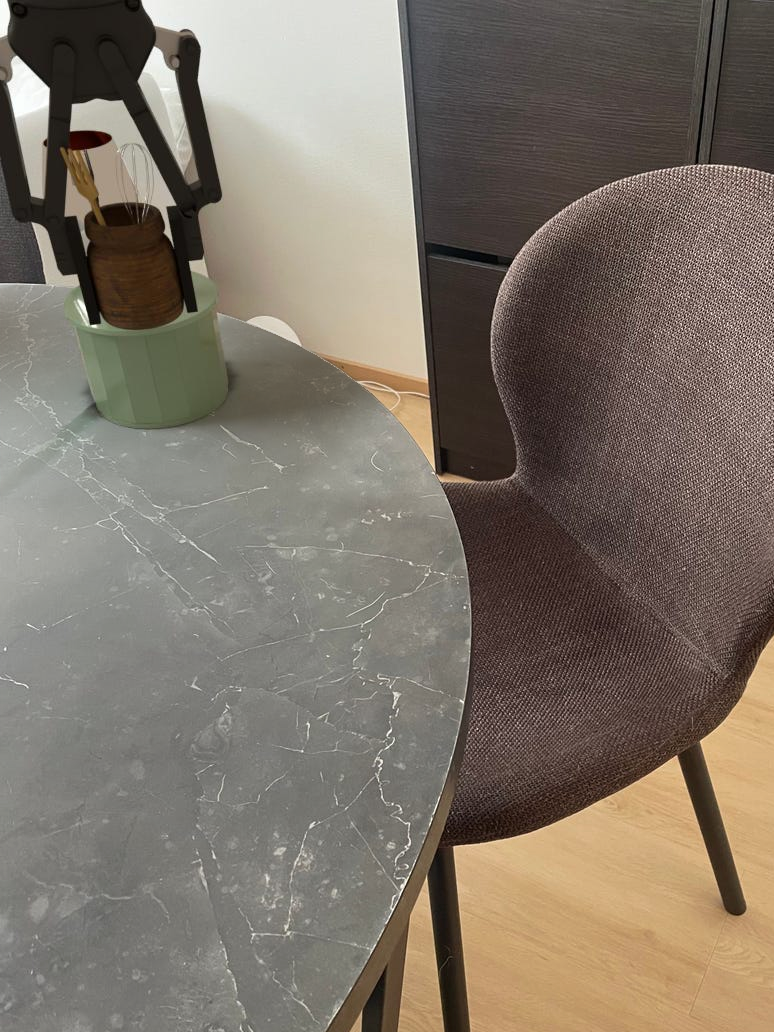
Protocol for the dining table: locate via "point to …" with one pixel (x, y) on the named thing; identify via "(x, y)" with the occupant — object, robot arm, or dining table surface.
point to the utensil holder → (129, 256)
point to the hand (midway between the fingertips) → (143, 309)
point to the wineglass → (95, 174)
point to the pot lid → (205, 304)
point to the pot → (156, 374)
